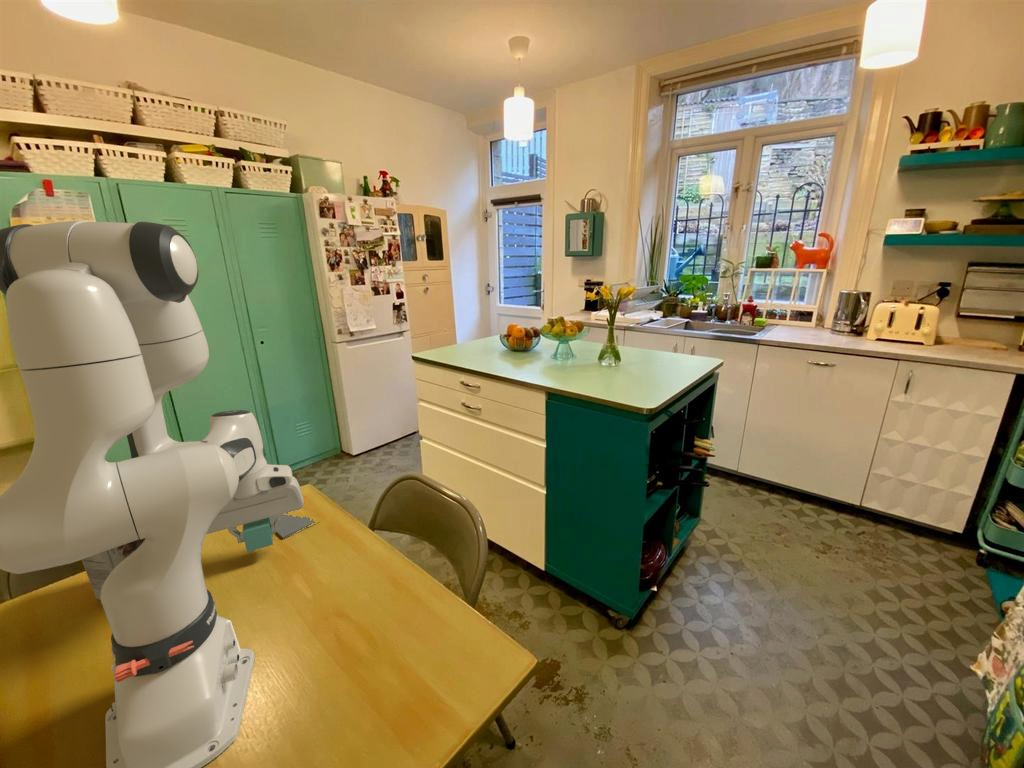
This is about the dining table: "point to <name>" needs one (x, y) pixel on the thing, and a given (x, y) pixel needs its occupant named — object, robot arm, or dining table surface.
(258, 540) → the teal cube
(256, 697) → the dining table surface
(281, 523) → the mat
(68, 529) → the robot arm
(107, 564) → the coffee box
